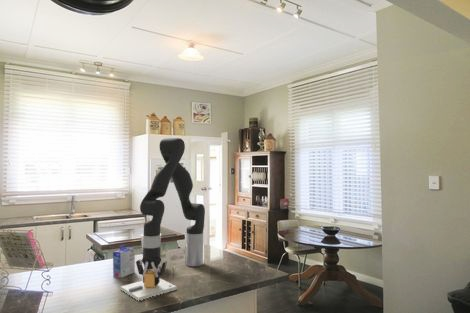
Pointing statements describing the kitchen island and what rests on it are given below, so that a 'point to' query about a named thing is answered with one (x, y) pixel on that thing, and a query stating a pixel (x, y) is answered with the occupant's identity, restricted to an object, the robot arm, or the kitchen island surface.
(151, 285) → the cube with dome knob
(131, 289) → the plate
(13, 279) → the kitchen island surface
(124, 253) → the ink cartridge box
